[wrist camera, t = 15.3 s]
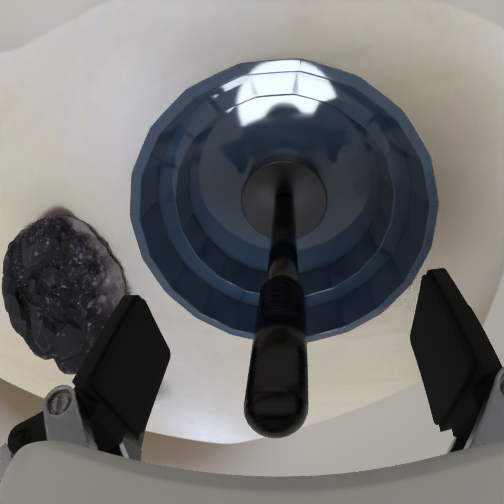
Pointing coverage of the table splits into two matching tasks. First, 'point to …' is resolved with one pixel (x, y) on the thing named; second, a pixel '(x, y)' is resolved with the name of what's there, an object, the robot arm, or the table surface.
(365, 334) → the table surface
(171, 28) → the table surface
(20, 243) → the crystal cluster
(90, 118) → the table surface
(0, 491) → the robot arm
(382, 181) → the bowl
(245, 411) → the disc-capped black rod
